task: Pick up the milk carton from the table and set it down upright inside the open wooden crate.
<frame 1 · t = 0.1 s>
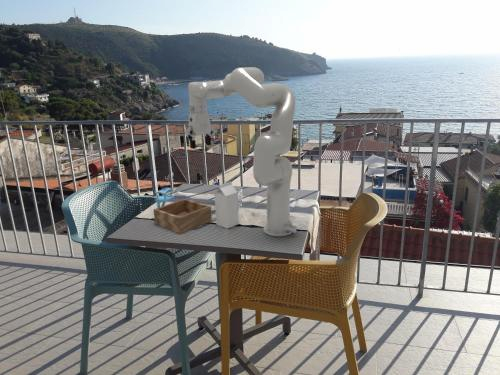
hand: (200, 146, 179), 31 cm above the table, tool pointing down, fingers open, 9 cm apart
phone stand: (166, 211, 187), on the table
wooden crate: (183, 222, 173), on the table
milk carton: (227, 225, 169), on the table
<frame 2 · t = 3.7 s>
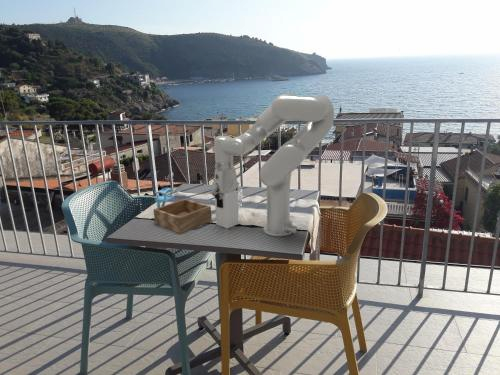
hand: (226, 204, 166), 9 cm above the table, tool pointing down, fingers closed on milk carton, 7 cm apart
milk carton: (227, 224, 169), on the table, touching gripper
everything else where it was.
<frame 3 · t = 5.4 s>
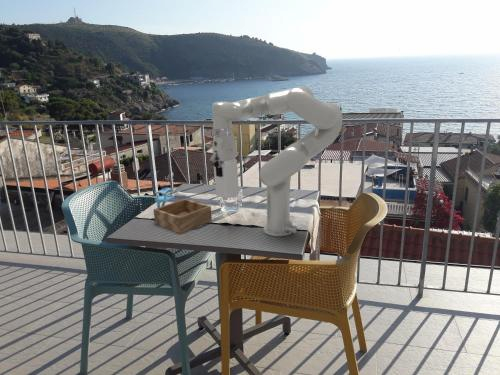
hand: (226, 173, 162), 23 cm above the table, tool pointing down, fingers closed on milk carton, 7 cm apart
milk carton: (227, 195, 164), point 14 cm above the table, touching gripper
everything else where it was.
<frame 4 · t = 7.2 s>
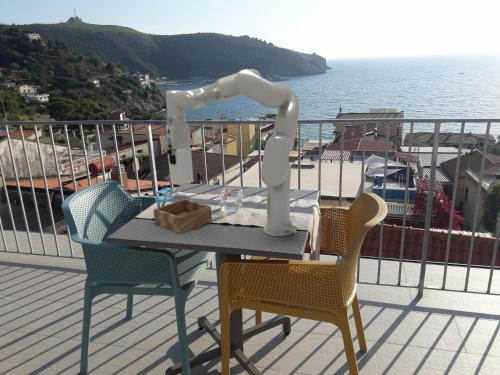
hand: (180, 161, 164), 28 cm above the table, tool pointing down, fingers closed on milk carton, 7 cm apart
milk carton: (182, 183, 167), point 19 cm above the table, touching gripper
everything else where it was.
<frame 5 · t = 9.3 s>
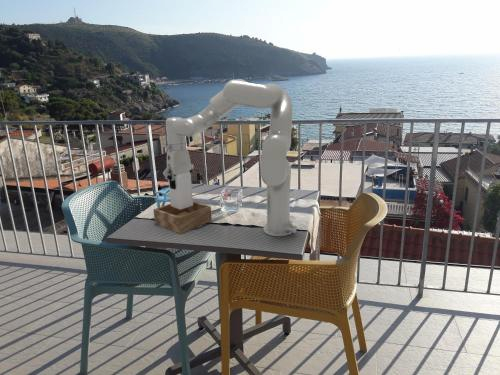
hand: (180, 186, 168), 17 cm above the table, tool pointing down, fingers closed on milk carton, 7 cm apart
milk carton: (182, 206, 171), point 8 cm above the table, touching gripper
everything else where it was.
when the fingers open (12 cm above the table, at t = 10.9 s): milk carton drops 2 cm, resting on wooden crate.
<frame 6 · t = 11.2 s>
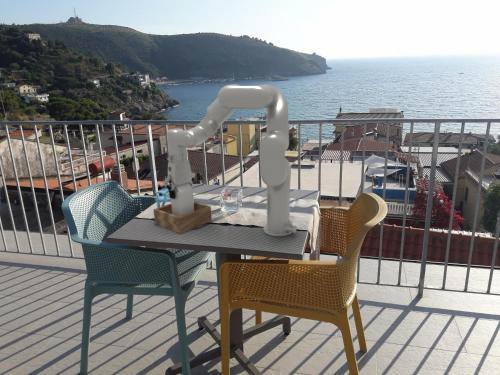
hand: (181, 195, 169), 13 cm above the table, tool pointing down, fingers open, 9 cm apart
milk carton: (183, 220, 172), point 1 cm above the table, touching wooden crate
everything else where it was.
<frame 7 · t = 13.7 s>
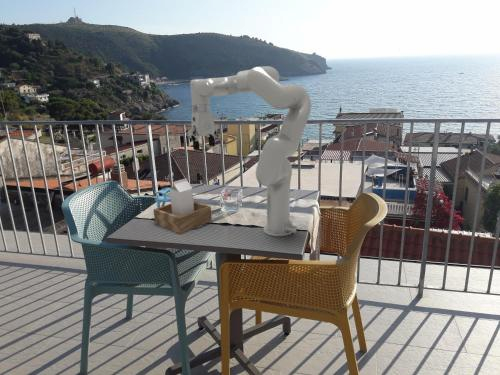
hand: (204, 147, 170), 33 cm above the table, tool pointing down, fingers open, 9 cm apart
nothing on the table moved.
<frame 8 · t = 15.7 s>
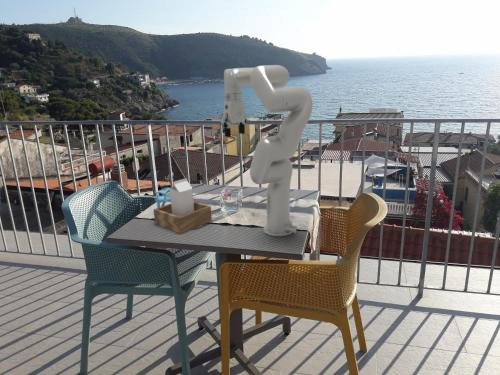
hand: (235, 135, 177), 36 cm above the table, tool pointing down, fingers open, 9 cm apart
nothing on the table moved.
at the end: milk carton inside the target area on the wooden crate (0.3 cm from its centre), point 0.8 cm above the wooden crate's base; milk carton tilted 0°; the gripper is holding nothing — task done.
